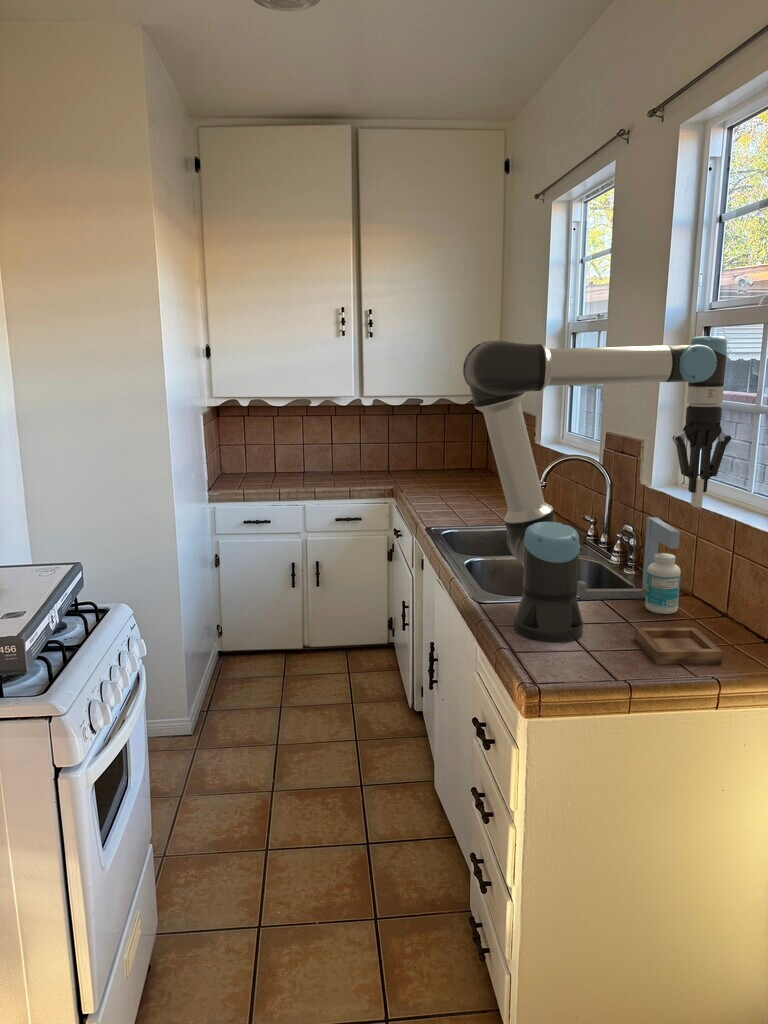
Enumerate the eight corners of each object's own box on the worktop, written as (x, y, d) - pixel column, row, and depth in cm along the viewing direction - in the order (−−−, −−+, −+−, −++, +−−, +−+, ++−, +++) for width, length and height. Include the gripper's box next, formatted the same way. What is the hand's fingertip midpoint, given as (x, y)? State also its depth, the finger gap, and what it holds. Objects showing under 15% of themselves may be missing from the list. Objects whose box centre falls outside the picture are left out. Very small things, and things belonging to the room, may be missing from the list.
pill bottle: (651, 602, 181) (655, 549, 178) (681, 608, 176) (686, 554, 174) (640, 610, 175) (643, 556, 173) (671, 617, 171) (675, 561, 168)
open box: (656, 663, 145) (657, 651, 145) (634, 638, 158) (635, 628, 157) (721, 663, 145) (722, 651, 145) (694, 638, 158) (695, 627, 157)
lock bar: (664, 607, 171) (670, 531, 167) (642, 587, 185) (647, 517, 182) (674, 607, 171) (680, 531, 167) (651, 587, 185) (656, 517, 182)
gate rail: (579, 599, 183) (580, 584, 183) (576, 595, 186) (577, 580, 185) (672, 599, 183) (673, 584, 182) (667, 595, 186) (669, 580, 185)
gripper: (682, 406, 164) (674, 509, 169) (740, 406, 164) (731, 508, 169) (669, 404, 171) (662, 503, 176) (725, 403, 171) (716, 502, 176)
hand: (696, 505), depth 173 cm, fingers closed
